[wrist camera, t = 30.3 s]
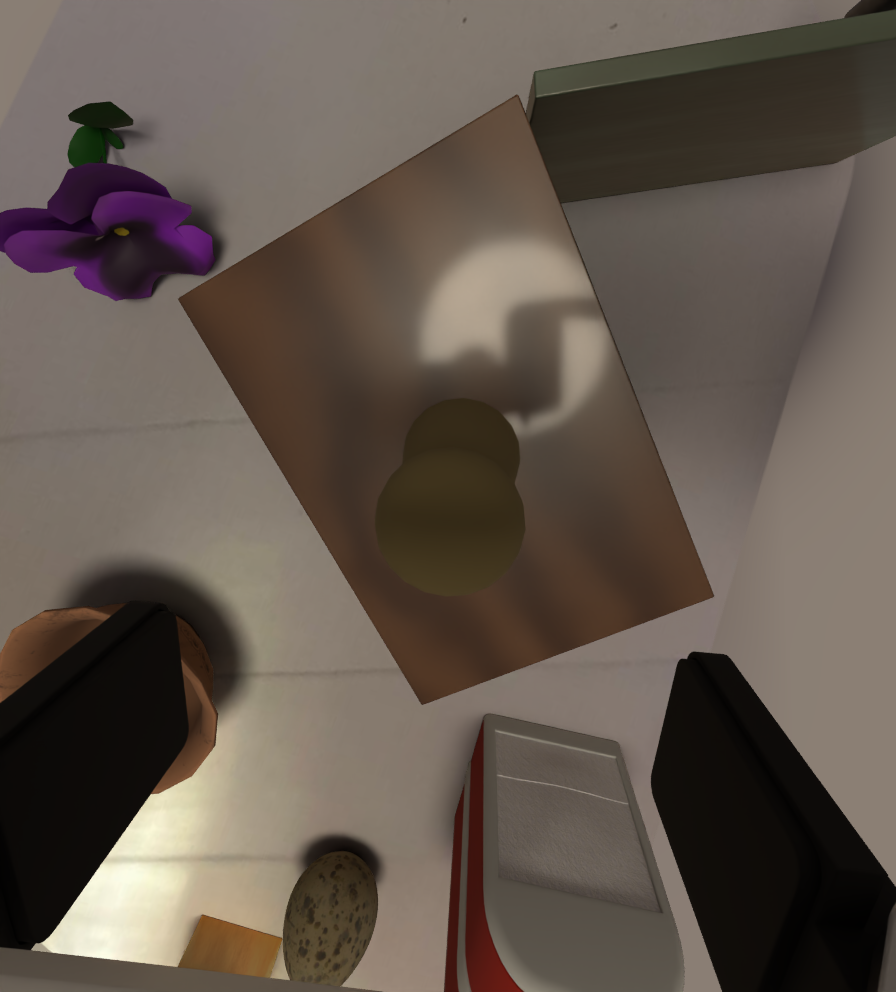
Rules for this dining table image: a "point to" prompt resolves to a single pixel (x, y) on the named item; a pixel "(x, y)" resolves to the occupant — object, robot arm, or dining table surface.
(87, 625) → the bowl
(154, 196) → the flower
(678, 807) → the robot arm
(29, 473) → the dining table surface
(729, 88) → the cupboard door
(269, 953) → the bread
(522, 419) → the cupboard
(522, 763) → the white box red top
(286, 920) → the decorative egg
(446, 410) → the brown rounded tall piece
